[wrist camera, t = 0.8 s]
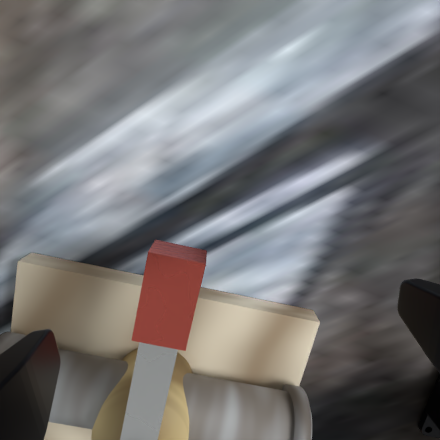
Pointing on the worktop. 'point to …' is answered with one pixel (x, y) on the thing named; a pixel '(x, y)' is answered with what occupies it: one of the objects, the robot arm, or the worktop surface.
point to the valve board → (113, 317)
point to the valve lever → (161, 332)
